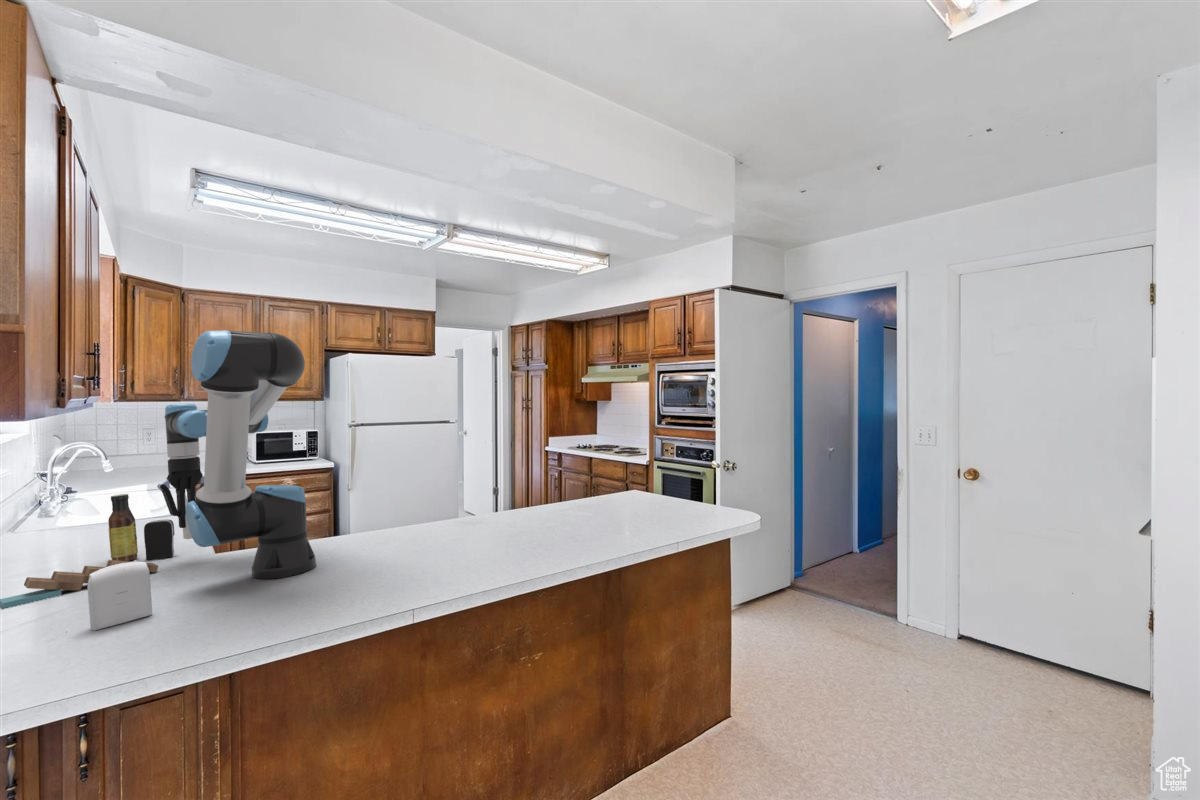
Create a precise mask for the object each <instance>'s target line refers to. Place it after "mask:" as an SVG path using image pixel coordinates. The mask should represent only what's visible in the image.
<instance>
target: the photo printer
mask: <svg viewBox="0 0 1200 800" xmlns="http://www.w3.org/2000/svg"><path fill="white" fill-rule="evenodd" d="M146 563H147V562H144V561H130V562H128V563H121V564H116V565H112V566H108V567H106V566H104V567H105V568H103V569H100V570H98V571H96V572H93V573H92V574H90V575H89V580H88V583H87V597H88V599H87V600H88V610H89V612H88V613H89V624H90V630H92V631H99V630H102V629H105V628H108V627H109V628H110V627H112V626H116V625H120V624H124V623H127V622H131V621H135V620H138V619H141V618H145V617H149V616H151V615H152V614H153V604H152V603H153V601H152V587H151V586H152V585H151V576H150V575H151V574H150V573H151V572H149V569H148V567H147V564H146Z"/></svg>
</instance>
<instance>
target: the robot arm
mask: <svg viewBox="0 0 1200 800" xmlns="http://www.w3.org/2000/svg"><path fill="white" fill-rule="evenodd" d="M190 361H191V373H192V377H193V378H194V380H196V381H199V382H200V388H202V389H203V390H204V391H205V392H206V393H207V406H206V407H207V409H198V406H197V405H196V404H195V403H183V404H182V403H179V404H176V403H174V404H168V405H166V406H165V410H164V413H165V414H164V419H165V434H166V451H167V452H166V453H167V457H168V458H169V459H167V470H168V471H167V472H168V474H167V477H166V480H165V481H164V482H161V483H158V484H157V489H159V491H161V493H162V496H163V499H164V501H165V504H166V506H167V509H168V513H169V514H170V516H174V517H178V527H179V528H180V529H182V533H183V534H182V537H183V538H182V539H185V540H190V539H192V540H193V542H194V543H195V545H197V546H198V547H200V548H207V547H214V546H218V547H219V546H221V545H225V544H230V543H234V542H235V543H236V542H239V541H244V540H249V539H254V538H257V549H256V552H255V556H254V559H253V562H252V565H251V576H252V577H253V578H255V579H260V580H262V579H263V580H269V579H270V580H271V579H273V580H274V579H281V578H286V577H292V576H295V575H299V574H302V573H306V572H308V571H310V570H312V569H314V568H315V567H316V566H317V564H316V560H317V559H316V555H315V552H314V550H313V547H312V546H311V543H310V541H309V539H308V527H307V526H308V523H307V501H306V493H305V488H303V487H302V486H299V485H292V484H262V485H256V486H255V489H254V492H253V491H252V488H250V487H249V486H248V485H246V477H247V476H246V475H247V458H248V445H249V442H248V441H249V434H251V435H252V434H255V433H263V432H265V431H266V430H267V428H268V425H269V414H268V413H269V411H270V410H271V409H272V408H273V406H274V405H275V404H276V402H277V401H278V400H279V399H280V397H281V396H282V395H283V394H284V392H285V391H286V390H287V389H288V388H290V387H292V386H294V385H296V383H298V381H299V380H300V379H301V378H302V376H303V374H304V371H305V367H306V366H305V365H306V364H305V363H306V362H305V356H304V354H303V351H302V350H301V349H300V347H299V346H298V344H297V343H295V341H293V340H292V339H290V338H288V337H287V336H285V335H283V334H280V333H276V332H275V333H274V332H258V331H257V332H255V331H242V330H241V331H239V330H227V329H223V330H207V331H204V332H201V334H200V335H199V336H198V338H197V339H196V340H195V343H194V346H193V349H192V353H191V360H190ZM203 437H205V455H204V475H203V472H202V471H201V458H200V457H199V455H200V453H201V452H200V441H199V440H200V438H203ZM199 483H200V485H199V489H198V490H197V491H196V487H197V485H198V484H199ZM170 485H171V486H172V487H173V488H174V489H175V493H176V503H175V500H174V497H173V494H172V491H171V490H170V488H171V486H170ZM186 499H187V503H186Z"/></svg>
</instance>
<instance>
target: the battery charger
mask: <svg viewBox="0 0 1200 800" xmlns="http://www.w3.org/2000/svg"><path fill="white" fill-rule="evenodd" d="M175 535H176V534H175V523H174V521H173V520H171V519H159V520H151V521H149V522H147V523H146V524H144V526H143V538H144V547H145V548H144V549H145V560H146V561H153V560H162V559H168V558H173V557H174V556H175V550H174V536H175Z"/></svg>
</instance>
